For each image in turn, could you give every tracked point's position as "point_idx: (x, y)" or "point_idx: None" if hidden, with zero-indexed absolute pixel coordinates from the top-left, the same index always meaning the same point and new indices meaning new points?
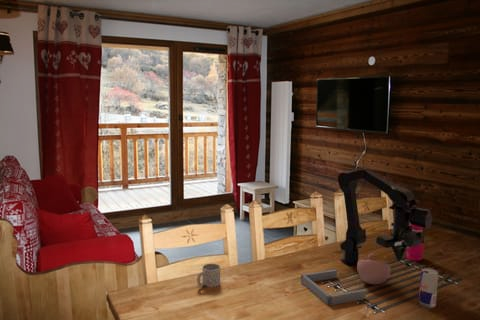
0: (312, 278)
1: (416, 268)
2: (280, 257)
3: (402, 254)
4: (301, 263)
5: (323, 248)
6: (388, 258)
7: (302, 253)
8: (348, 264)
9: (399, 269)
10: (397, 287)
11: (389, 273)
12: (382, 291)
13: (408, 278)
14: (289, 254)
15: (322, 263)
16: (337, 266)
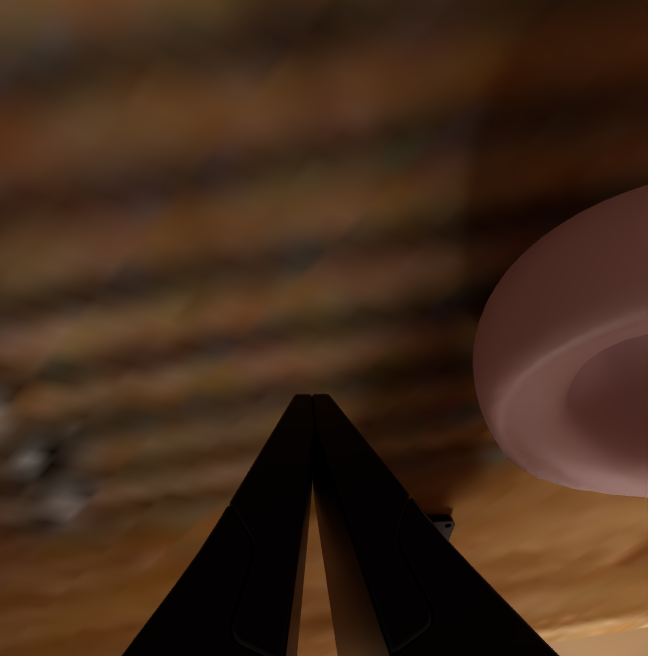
0: None
1: (9, 395)
2: (618, 609)
3: (286, 478)
4: (610, 566)
5: None
6: (140, 541)
7: None
8: (452, 524)
9: (171, 415)
10: (451, 149)
11: (643, 201)
12: (638, 136)
13: (207, 268)
14: (563, 622)
15: (534, 553)
16: (504, 520)
